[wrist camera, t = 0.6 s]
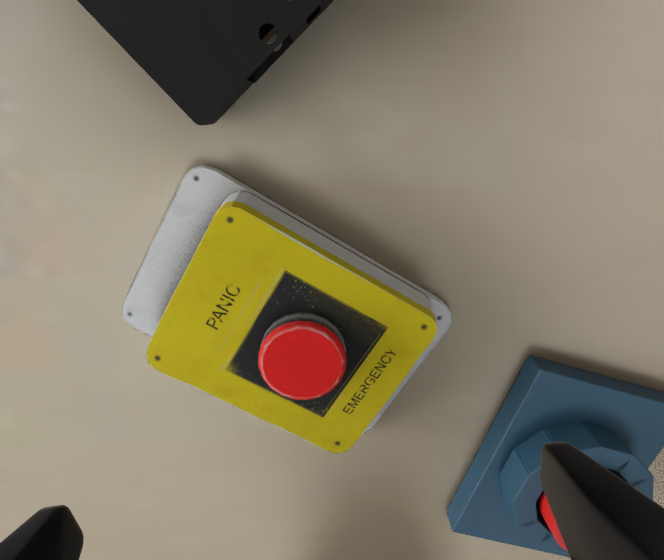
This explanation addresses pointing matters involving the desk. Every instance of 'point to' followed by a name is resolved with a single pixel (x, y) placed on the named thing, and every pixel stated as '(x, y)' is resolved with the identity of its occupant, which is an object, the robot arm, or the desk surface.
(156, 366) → the emergency button
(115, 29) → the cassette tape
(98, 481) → the desk surface
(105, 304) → the desk surface
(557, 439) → the blue button base
